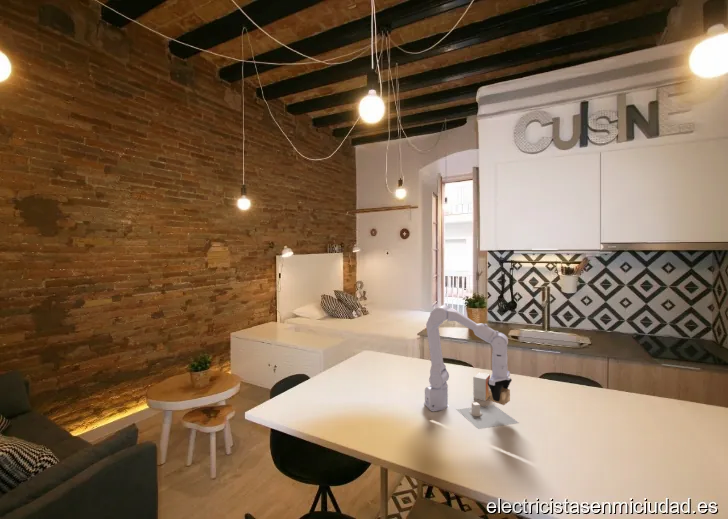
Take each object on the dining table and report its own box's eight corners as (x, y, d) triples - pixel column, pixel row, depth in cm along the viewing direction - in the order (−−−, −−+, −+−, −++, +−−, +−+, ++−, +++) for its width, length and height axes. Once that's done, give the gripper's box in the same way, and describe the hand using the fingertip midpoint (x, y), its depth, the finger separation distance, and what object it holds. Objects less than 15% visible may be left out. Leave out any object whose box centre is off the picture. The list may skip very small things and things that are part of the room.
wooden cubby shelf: (503, 405, 128) (503, 392, 128) (489, 400, 132) (490, 388, 132) (509, 400, 132) (509, 388, 131) (496, 396, 136) (496, 384, 136)
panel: (478, 430, 124) (478, 418, 124) (456, 411, 139) (456, 400, 139) (519, 424, 128) (519, 412, 128) (493, 406, 144) (493, 395, 144)
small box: (485, 402, 147) (485, 379, 147) (473, 399, 151) (473, 376, 150) (490, 396, 154) (490, 374, 154) (478, 393, 157) (478, 371, 157)
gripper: (501, 371, 124) (501, 407, 124) (517, 362, 134) (517, 395, 134) (483, 366, 129) (483, 401, 129) (500, 358, 139) (500, 390, 139)
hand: (499, 398), depth 132 cm, fingers closed on wooden cubby shelf, 6 cm apart
